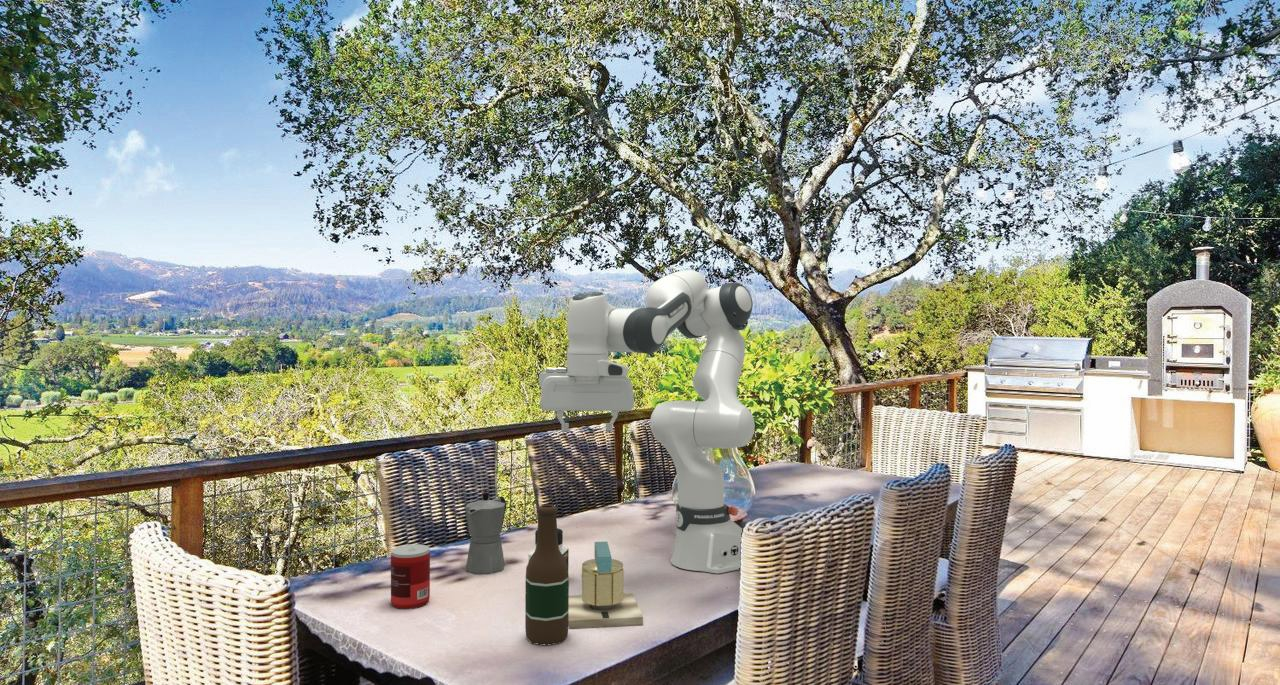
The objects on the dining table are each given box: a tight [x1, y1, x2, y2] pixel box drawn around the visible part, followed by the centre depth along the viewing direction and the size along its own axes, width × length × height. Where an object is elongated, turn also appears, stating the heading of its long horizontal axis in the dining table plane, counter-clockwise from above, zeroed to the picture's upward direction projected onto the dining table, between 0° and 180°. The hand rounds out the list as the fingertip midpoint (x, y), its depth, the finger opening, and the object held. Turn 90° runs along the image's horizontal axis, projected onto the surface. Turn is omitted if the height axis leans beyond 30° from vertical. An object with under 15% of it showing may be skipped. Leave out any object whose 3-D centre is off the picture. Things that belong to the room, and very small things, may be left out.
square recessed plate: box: [568, 592, 644, 629], centre depth 156 cm, size 14×14×6 cm
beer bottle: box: [524, 504, 570, 646], centre depth 144 cm, size 8×8×24 cm
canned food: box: [390, 543, 431, 610], centre depth 162 cm, size 8×8×11 cm
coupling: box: [581, 541, 625, 606], centre depth 156 cm, size 8×11×10 cm
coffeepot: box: [465, 491, 507, 575], centre depth 186 cm, size 15×9×18 cm, turn 159°
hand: (587, 431), depth 170 cm, fingers open, 8 cm apart
